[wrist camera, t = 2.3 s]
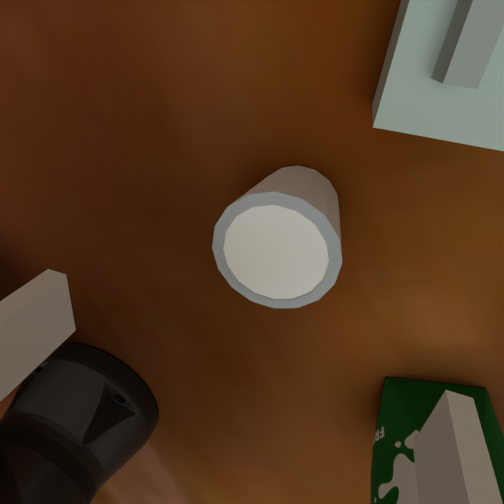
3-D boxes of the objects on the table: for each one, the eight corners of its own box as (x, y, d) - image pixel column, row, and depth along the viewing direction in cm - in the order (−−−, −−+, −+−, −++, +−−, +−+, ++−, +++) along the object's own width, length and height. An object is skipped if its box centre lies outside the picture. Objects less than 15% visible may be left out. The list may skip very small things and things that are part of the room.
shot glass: (362, 238, 24) (359, 298, 18) (269, 260, 27) (242, 319, 21) (329, 139, 22) (315, 172, 16) (232, 175, 25) (189, 215, 19)
